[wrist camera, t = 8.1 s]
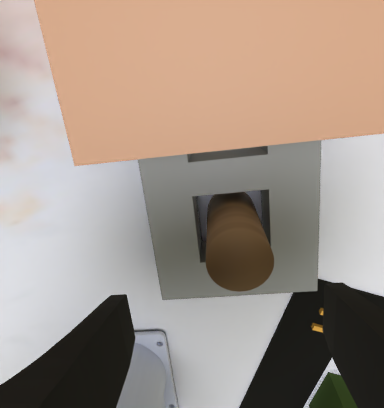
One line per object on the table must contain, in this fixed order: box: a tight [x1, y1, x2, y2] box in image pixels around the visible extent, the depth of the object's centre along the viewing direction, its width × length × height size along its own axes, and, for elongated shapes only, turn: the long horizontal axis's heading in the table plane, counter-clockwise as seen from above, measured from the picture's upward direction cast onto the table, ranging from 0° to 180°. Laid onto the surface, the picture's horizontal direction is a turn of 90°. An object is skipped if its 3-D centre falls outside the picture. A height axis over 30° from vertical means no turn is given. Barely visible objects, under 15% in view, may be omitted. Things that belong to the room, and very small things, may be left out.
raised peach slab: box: [34, 0, 384, 166], centre depth 13 cm, size 6×11×10 cm, turn 97°
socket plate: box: [138, 140, 321, 300], centre depth 18 cm, size 14×10×3 cm
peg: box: [206, 192, 274, 292], centre depth 17 cm, size 3×3×7 cm
